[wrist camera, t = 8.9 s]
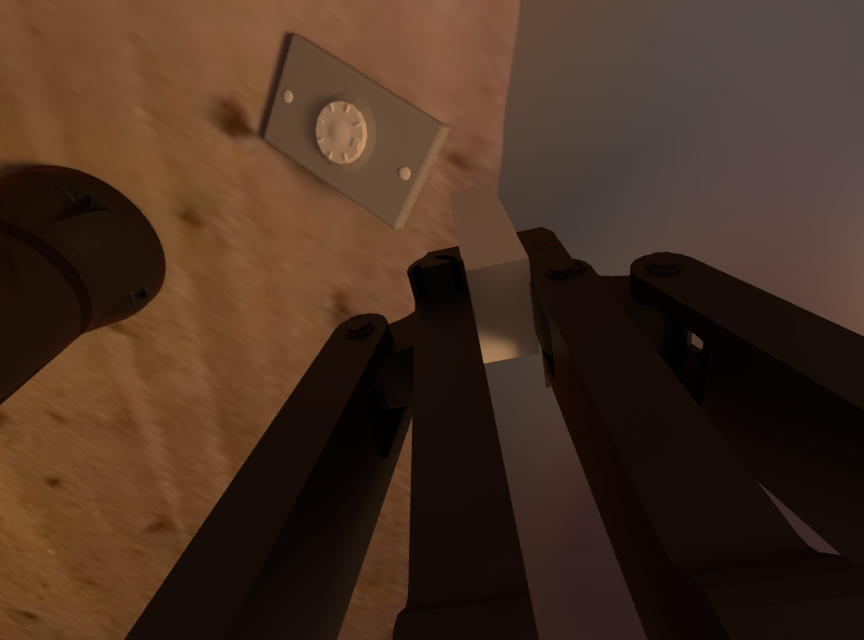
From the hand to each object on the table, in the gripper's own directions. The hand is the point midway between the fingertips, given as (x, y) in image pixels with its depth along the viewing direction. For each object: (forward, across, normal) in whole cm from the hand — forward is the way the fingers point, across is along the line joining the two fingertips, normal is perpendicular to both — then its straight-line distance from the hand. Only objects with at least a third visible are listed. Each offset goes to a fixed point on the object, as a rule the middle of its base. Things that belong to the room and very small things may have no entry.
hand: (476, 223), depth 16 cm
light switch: (+26, -8, +2) cm, 27 cm away
